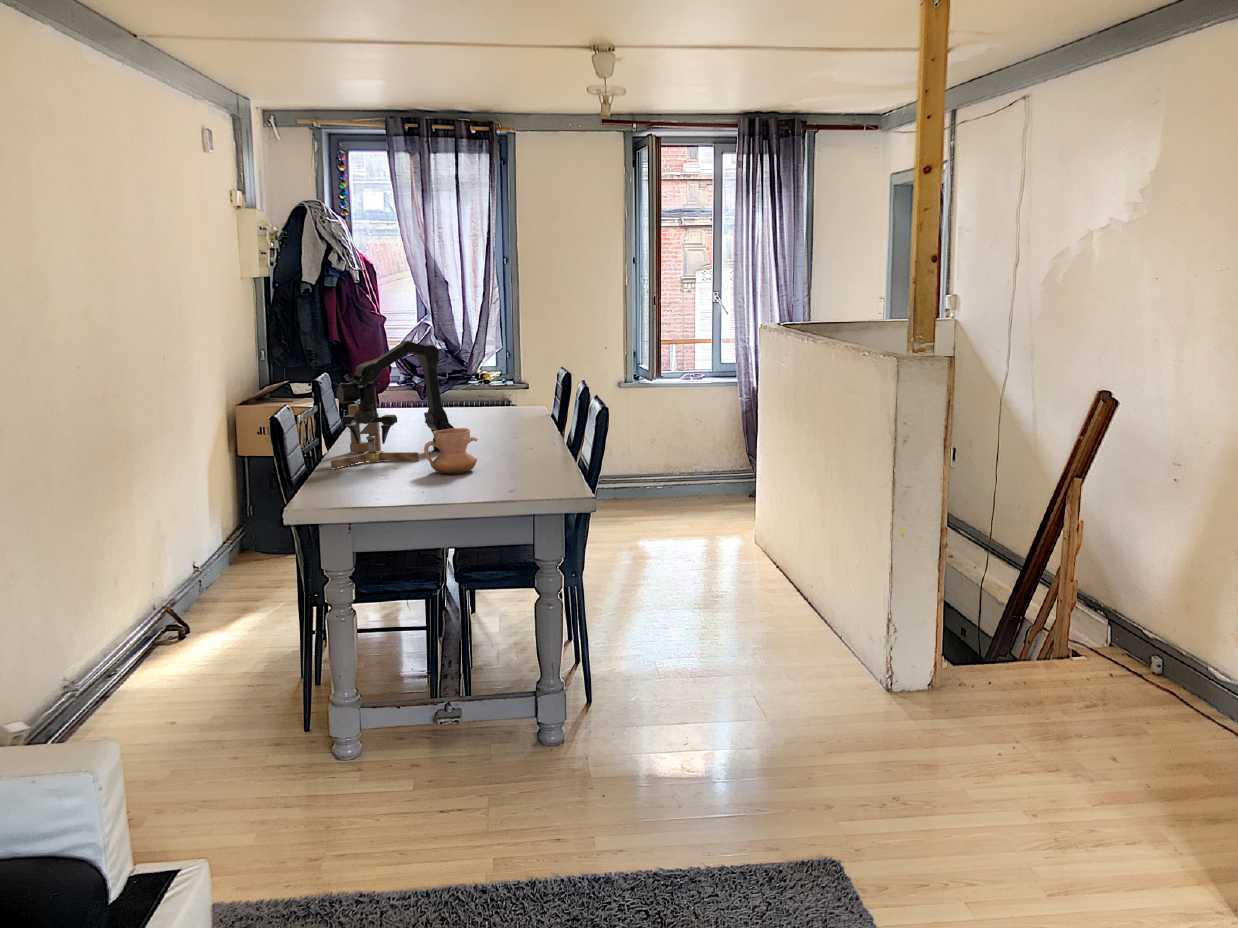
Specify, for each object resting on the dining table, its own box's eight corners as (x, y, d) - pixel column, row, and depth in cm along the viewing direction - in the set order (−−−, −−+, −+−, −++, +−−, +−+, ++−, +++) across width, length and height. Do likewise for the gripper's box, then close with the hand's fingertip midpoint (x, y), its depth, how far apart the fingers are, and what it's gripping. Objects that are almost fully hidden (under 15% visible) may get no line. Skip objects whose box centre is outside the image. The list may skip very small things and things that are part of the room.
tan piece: (421, 459, 365) (420, 451, 365) (404, 469, 347) (403, 461, 347) (351, 459, 369) (350, 451, 368) (330, 469, 351) (330, 461, 350)
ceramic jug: (476, 466, 351) (473, 425, 348) (483, 473, 337) (480, 431, 335) (423, 471, 346) (420, 430, 343) (428, 479, 332) (424, 436, 330)
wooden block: (379, 452, 381) (375, 404, 377) (350, 453, 380) (346, 405, 377) (381, 450, 384) (377, 403, 381) (352, 451, 384) (348, 404, 380)
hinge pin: (378, 460, 366) (376, 435, 364) (375, 461, 363) (373, 437, 361) (369, 460, 366) (368, 435, 365) (366, 461, 363) (364, 437, 362)
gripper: (333, 403, 354) (337, 447, 357) (385, 403, 351) (388, 447, 354) (346, 399, 364) (349, 442, 368) (396, 398, 362) (399, 442, 365)
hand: (371, 443), depth 363 cm, fingers open, 9 cm apart
